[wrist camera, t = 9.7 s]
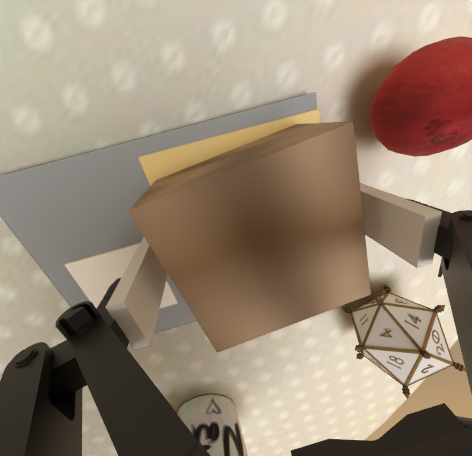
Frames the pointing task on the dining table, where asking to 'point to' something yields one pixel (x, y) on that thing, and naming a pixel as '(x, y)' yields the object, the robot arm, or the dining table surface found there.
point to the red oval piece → (426, 100)
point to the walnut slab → (262, 231)
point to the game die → (402, 338)
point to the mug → (214, 425)
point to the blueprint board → (121, 200)
